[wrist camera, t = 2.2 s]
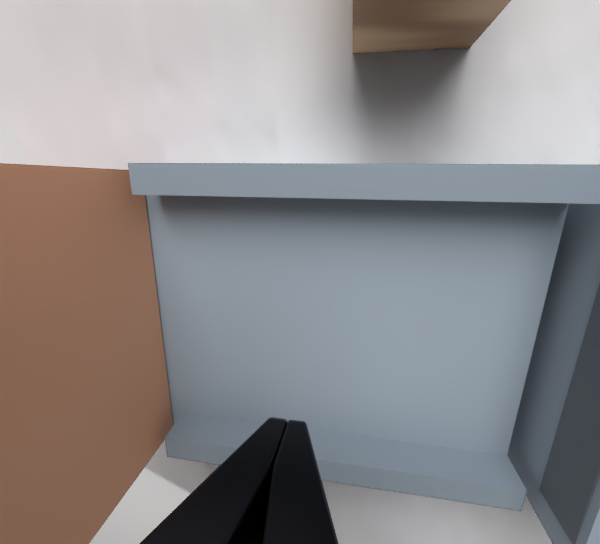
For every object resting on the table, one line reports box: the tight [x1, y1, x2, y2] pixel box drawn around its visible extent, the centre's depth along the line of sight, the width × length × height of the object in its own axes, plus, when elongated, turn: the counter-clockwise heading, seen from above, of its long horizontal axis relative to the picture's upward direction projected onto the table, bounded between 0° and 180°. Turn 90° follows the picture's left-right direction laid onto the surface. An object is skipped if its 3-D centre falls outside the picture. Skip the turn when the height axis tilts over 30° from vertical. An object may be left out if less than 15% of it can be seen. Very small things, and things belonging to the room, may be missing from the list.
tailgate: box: [0, 163, 173, 544], centre depth 10 cm, size 1×12×8 cm, turn 0°
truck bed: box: [128, 163, 600, 544], centre depth 11 cm, size 19×12×6 cm, turn 89°
